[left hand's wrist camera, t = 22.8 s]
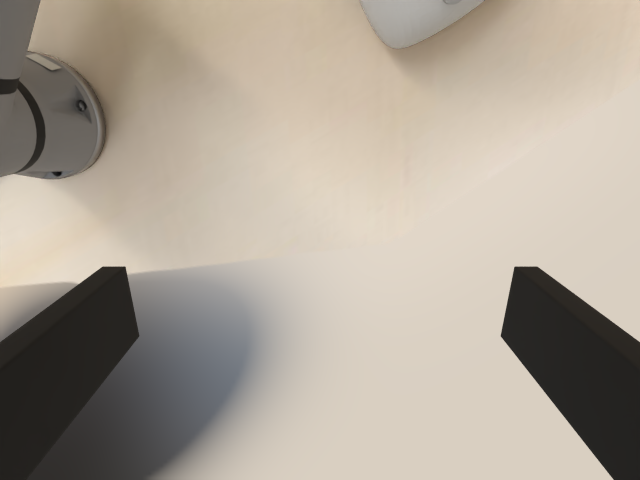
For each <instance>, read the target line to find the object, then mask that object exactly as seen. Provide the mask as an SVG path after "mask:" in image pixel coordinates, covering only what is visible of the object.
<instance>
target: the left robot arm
mask: <svg viewBox="0 0 640 480" xmlns="http://www.w3.org/2000/svg"><path fill="white" fill-rule="evenodd" d="M39 4H40V0H0V177H2V176H6V175H10V174H18V175H24V176H30V177H35V178H42V179H60V178H65V177H69V176H72V175H75V174H78V173H81V172H83V171H84V170H86V169H87V168H89V167H90V166H91V165H92V164H93V163H94V162H95V161H96V159H97V158H98V156H99V155H100V153H101V151H102V148H103V145H104V141H105V119H104V114H103V111H102V108H101V105H100V103H99V101H98V98H97V96H96V95H95V93H94V91H93V90H92V88H91V87H90V85H89V84H88V83H87V82H86V80H85V79H84V78H83V77H82V76H81V75H80V74H79V73H78V72H76V71H75V70H74V69H73V68H71V67H70V66H69V65H67V64H66V63H64V62H62V61H60V60H58V59H56V58H54V57H51V56H48V55H45V54H40V53H35V52H30V51H27V50H28V46H29V42H30V38H31V34H32V31H33V27H34V23H35V19H36V15H37V12H38V8H39ZM138 337H139V332H138V327H137V322H136V317H135V312H134V307H133V302H132V297H131V292H130V287H129V282H128V277H127V272H126V267H102V268H100V269H99V270H98V271H96V272H95V273H93V274H92V275H91V276H89V277H88V278H87V279H85V280H84V281H83V282H81V283H80V284H79V285H77V286H76V287H74V288H73V289H72V290H70V291H69V292H68V293H66V294H65V295H64V296H62V297H61V298H60V299H58V300H57V301H56V302H54V303H53V304H52V305H50V306H49V307H47V308H46V309H45V310H43V311H42V312H41V313H39V314H38V315H36V316H35V317H34V318H32V319H31V320H30V321H28V322H27V323H26V324H24V325H23V326H22V327H20V328H19V329H17V330H16V331H15V332H13V333H12V334H11V335H9V336H8V337H7V338H5V339H4V340H3V341H1V342H0V480H26V479H27V478H28V477H29V476H30V474H31V473H32V472H33V470H34V469H35V468H36V467H37V465H38V464H39V463H40V462H41V460H42V459H43V458H44V457H45V455H46V454H47V453H48V451H49V450H50V449H51V448H52V446H53V445H54V444H55V442H56V441H57V440H58V439H59V437H60V436H61V435H62V434H63V432H64V431H65V430H66V429H67V427H68V426H69V425H70V423H71V422H72V421H73V420H74V418H75V417H76V416H77V415H78V413H79V412H80V411H81V410H82V408H83V407H84V406H85V404H86V403H87V402H88V401H89V399H90V398H91V397H92V396H93V394H94V393H95V392H96V390H97V389H98V388H99V387H100V385H101V384H102V383H103V382H104V380H105V379H106V378H107V376H108V375H109V374H110V373H111V371H112V370H113V369H114V367H115V366H116V365H117V364H118V362H119V361H120V360H121V359H122V357H123V356H124V355H125V354H126V352H127V351H128V350H129V348H130V347H131V346H132V345H133V343H134V342H135V341H136V339H137V338H138ZM501 337H502V338H503V340H504V341H505V342H506V343H507V345H508V346H509V347H510V348H511V350H512V351H513V352H514V354H515V355H516V356H517V357H518V359H519V360H520V361H521V362H522V364H523V365H524V366H525V368H526V369H527V370H528V371H529V373H530V374H531V375H532V376H533V378H534V379H535V380H536V382H537V383H538V384H539V385H540V387H541V388H542V389H543V390H544V392H545V393H546V394H547V396H548V397H549V398H550V399H551V401H552V402H553V403H554V404H555V406H556V407H557V408H558V410H559V411H560V412H561V413H562V415H563V416H564V417H565V418H566V420H567V421H568V422H569V423H570V425H571V426H572V427H573V429H574V430H575V431H576V432H577V434H578V435H579V436H580V437H581V439H582V440H583V441H584V443H585V444H586V445H587V446H588V448H589V449H590V450H591V451H592V453H593V454H594V455H595V457H596V458H597V459H598V460H599V462H600V463H601V464H602V465H603V467H604V468H605V469H606V470H607V472H608V473H609V474H610V475H611V477H612V478H613V479H614V480H640V342H639V341H637V340H636V339H635V338H633V337H632V336H631V335H629V334H628V333H627V332H625V331H624V330H623V329H621V328H620V327H618V326H617V325H616V324H614V323H613V322H612V321H610V320H609V319H608V318H606V317H605V316H604V315H602V314H601V313H599V312H598V311H597V310H595V309H594V308H593V307H591V306H590V305H589V304H587V303H586V302H584V301H583V300H582V299H580V298H579V297H578V296H576V295H575V294H574V293H572V292H571V291H570V290H568V289H567V288H566V287H564V286H563V285H561V284H560V283H559V282H557V281H556V280H555V279H553V278H552V277H551V276H549V275H548V274H547V273H545V272H544V271H542V270H541V269H540V268H538V267H514V272H513V277H512V282H511V287H510V292H509V297H508V302H507V307H506V312H505V317H504V322H503V327H502V333H501Z"/></svg>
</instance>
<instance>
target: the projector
mask: <svg viewBox="0 0 640 480" xmlns="http://www.w3.org/2000/svg"><path fill="white" fill-rule="evenodd" d="M359 1H360V3H361V6H362V8H363V10H364V12H365V14H366V17H367V19H368V21H369V22H370V24H371V26H372V28H373V30H374V31H375V33H376V34H377V36H378V37H379V38H380V39H381V41H382V42H384V43H385V44H386V45H387V46H389V47H391V48H395V49H402V48H406V47H409V46H411V45H414V44H416V43H418V42H421V41H423V40H425V39H427V38H429V37H430V36H432V35H434V34H436V33H438V32H439V31H441V30H443V29H444V28H446V27H448V26H449V25H451V24H452V23H454V22H455V21H457V20H459V19H460V18H461V17H463V16H464V15H466V14H467V13H469V12H470V11H471V10H473V9H474V8H476V7H477V6H478V5H480V4H481V3H482V2H483V1H485V0H359Z"/></svg>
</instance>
